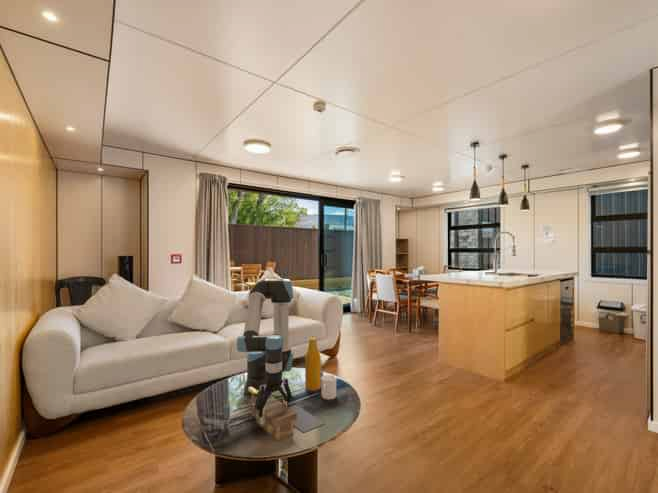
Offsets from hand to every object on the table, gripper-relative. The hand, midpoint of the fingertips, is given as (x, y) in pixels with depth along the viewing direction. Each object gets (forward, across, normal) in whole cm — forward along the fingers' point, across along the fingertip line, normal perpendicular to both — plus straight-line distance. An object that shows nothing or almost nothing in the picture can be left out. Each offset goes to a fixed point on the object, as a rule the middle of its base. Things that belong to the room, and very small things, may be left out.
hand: (274, 419), depth 145 cm
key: (-5, 0, +19) cm, 20 cm away
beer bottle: (+4, +40, +24) cm, 47 cm away
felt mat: (+4, +14, 0) cm, 15 cm away
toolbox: (+4, 0, +4) cm, 6 cm away
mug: (+4, +38, +8) cm, 39 cm away
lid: (-2, 0, 0) cm, 2 cm away
